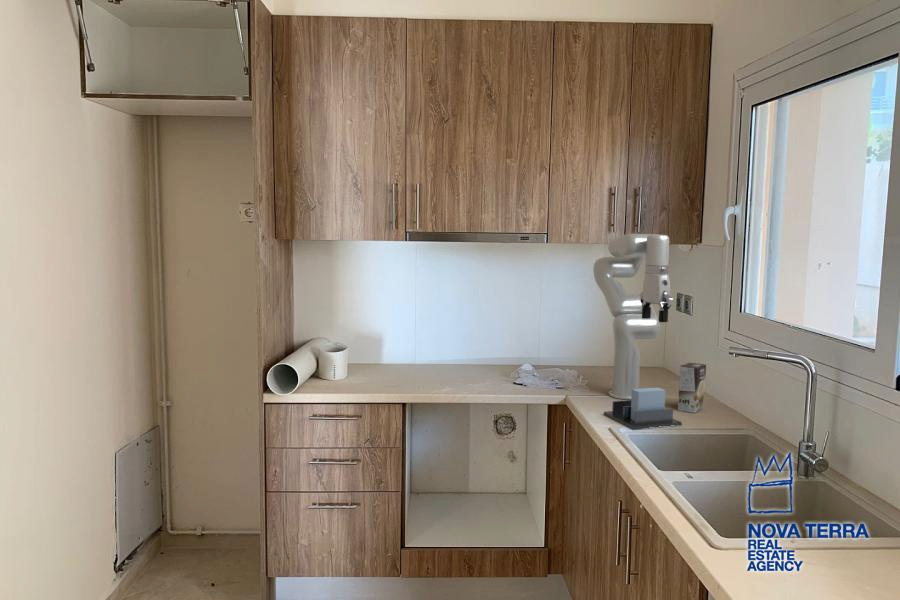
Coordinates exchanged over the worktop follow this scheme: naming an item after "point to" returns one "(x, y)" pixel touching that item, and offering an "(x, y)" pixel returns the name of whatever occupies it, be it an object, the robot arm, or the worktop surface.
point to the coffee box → (692, 387)
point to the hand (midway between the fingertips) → (654, 320)
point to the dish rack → (640, 416)
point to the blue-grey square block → (647, 400)
